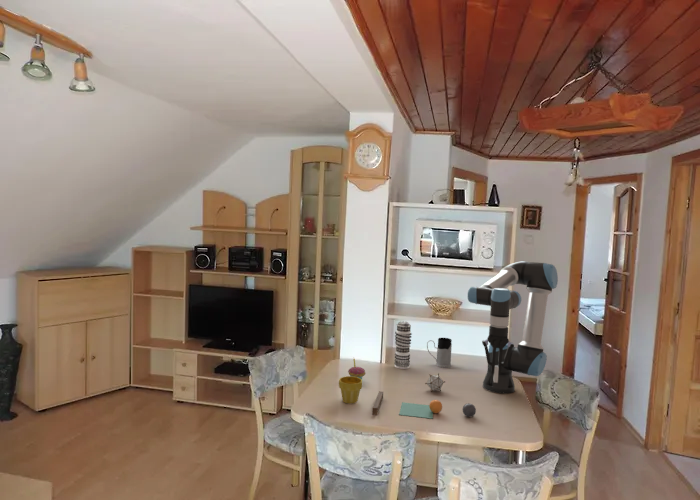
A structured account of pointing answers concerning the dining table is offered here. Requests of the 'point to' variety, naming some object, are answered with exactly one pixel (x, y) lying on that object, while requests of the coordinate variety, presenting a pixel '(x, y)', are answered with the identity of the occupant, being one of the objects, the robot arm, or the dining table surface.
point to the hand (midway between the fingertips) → (495, 381)
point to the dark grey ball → (469, 410)
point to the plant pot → (350, 388)
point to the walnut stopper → (377, 403)
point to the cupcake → (356, 371)
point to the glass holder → (443, 352)
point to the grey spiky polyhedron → (435, 382)
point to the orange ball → (435, 406)
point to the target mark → (416, 410)
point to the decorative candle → (402, 345)
